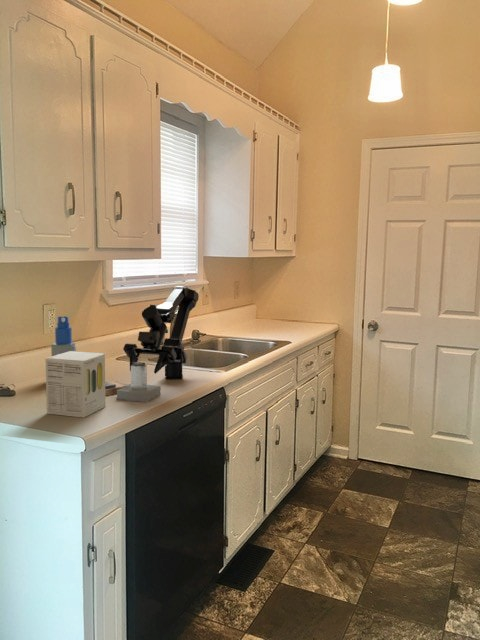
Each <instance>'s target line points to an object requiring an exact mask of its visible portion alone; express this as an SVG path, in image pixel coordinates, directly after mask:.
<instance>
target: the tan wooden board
mask: <svg viewBox="0 0 480 640" xmlns="http://www.w3.org/2000/svg"><path fill="white" fill-rule="evenodd" d="M128 385H129V384H127V383H125V382H121V381H117V380H116V381H112V382H109V381H108V382H107V381H105V397H106V396H111V395H117V390H119V389H121V388H123V387H125V386H128Z"/></svg>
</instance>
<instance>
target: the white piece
mask: <svg viewBox="0 0 480 640" xmlns="http://www.w3.org/2000/svg"><path fill="white" fill-rule="evenodd" d="M147 369H148V365H147V364H146V362H139V361H137V362H135V363H132V366H131V371H130V384H131V389H136V390H143V389H145V388H146V387H147V385H148V375H147V374H148V370H147Z"/></svg>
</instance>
